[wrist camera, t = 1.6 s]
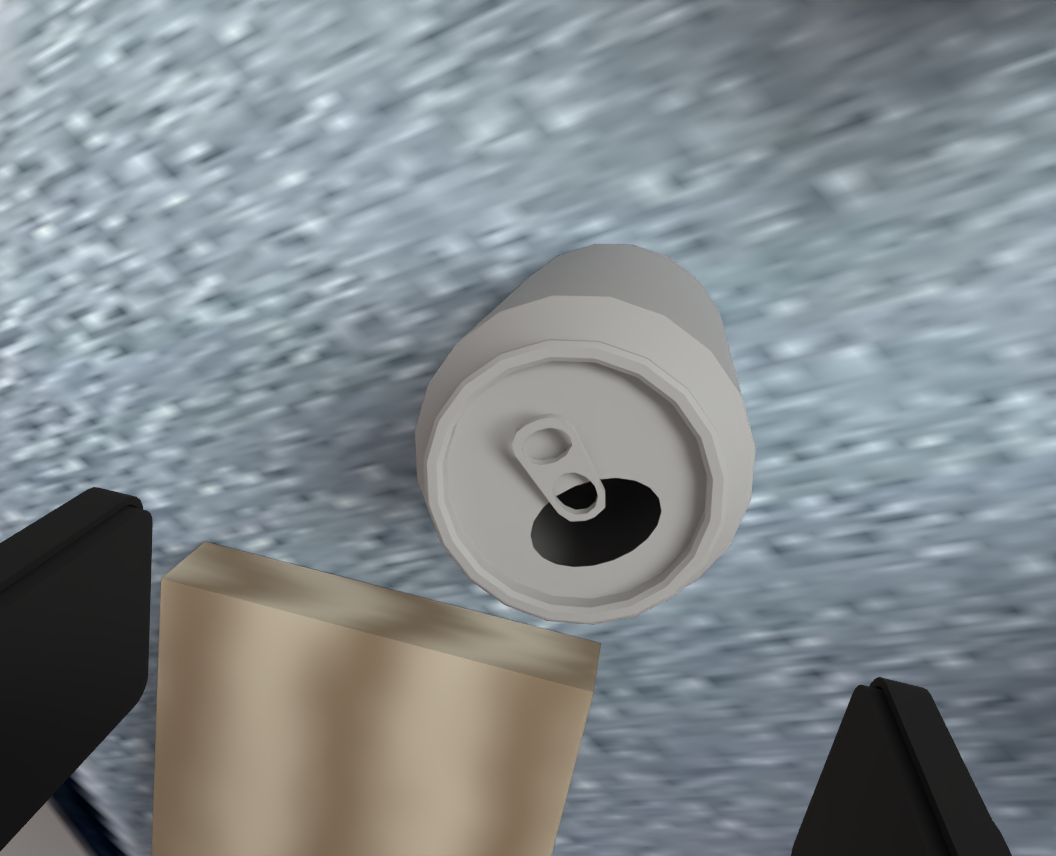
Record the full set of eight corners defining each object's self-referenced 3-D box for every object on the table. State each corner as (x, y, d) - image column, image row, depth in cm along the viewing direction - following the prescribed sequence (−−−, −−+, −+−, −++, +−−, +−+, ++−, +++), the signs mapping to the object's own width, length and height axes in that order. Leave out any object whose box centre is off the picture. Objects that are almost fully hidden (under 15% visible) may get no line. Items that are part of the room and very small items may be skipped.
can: (562, 490, 30) (494, 699, 19) (463, 302, 28) (323, 406, 17) (764, 407, 28) (823, 587, 16) (669, 198, 26) (664, 238, 15)
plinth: (600, 643, 31) (593, 692, 29) (524, 943, 37) (511, 1009, 34) (204, 541, 33) (161, 578, 30) (188, 844, 38) (149, 899, 36)
